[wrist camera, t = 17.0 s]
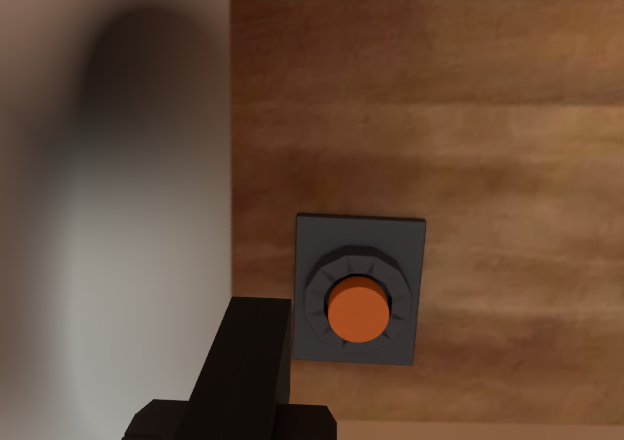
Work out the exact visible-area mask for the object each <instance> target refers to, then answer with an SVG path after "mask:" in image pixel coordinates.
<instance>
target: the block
mask: <svg viewBox="0 0 624 440" xmlns="http://www.w3.org/2000/svg"><path fill="white" fill-rule="evenodd" d="M425 233H426V221H425V219H412V218H390V217H368V216H346V215H324V214H302V213H298V214H297V224H296V259H295V293H294V327H293V359H296V360H314V361H333V362H352V363H371V364H390V365H409V366H412V365H413V356H414V346H415V335H416V325H417V315H418V304H419V294H420V284H421V274H422V263H423V253H424V243H425ZM354 276H362V277H367V278H370V279H372V280H374V281H375V282H377V283H378V284H379V285H380V286H381V287H382V289H383V290H384V292H385V295H386V298H387V303H388V308H389V321H388V324H387V326H386V328H385V329H384V331H383V332H382V333H381V334H380V335H379V336H377V337H376V338H374V339H372V340H370V341H367V342H351V341H347V340H345V339H343V338H341V337H340V336H338V335H337V334H336V333H335V332H334V330H333V329H332V327H331V325H330V323H329V319H328V301H329V296H330V293H331V291H332V289H333V288H334V287H335V286H336V285H337V284H338V283H339V282H340V281H342V280H344V279H346V278H349V277H354Z"/></svg>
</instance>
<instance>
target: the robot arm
mask: <svg viewBox="0 0 624 440" xmlns="http://www.w3.org/2000/svg"><path fill="white" fill-rule="evenodd" d="M290 361H291V299H279V298H255V297H232V298H231V300H230V303H229V305H228V308H227V310H226V312H225V315H224V317H223V320H222V322H221V324H220V327H219V329H218V332H217V334H216V336H215V339H214V341H213V344H212V346H211V348H210V351H209V353H208V356H207V358H206V361H205V363H204V365H203V368H202V370H201V373H200V375H199V377H198V380H197V382H196V384H195V387H194V389H193V392H192V394H191V396H190V399H189V401H180V400H179V401H177V400H159V399H153V400H152V401H151V402H150V403H148V404H147V405H146V406H145V407H144V408H142V409H141V410H140V411H139V412H138V413H136V414H135V416H134V417H133V419H132V421H131V423H130V425H129V426H128V428H127V430H126V432H125V436H124V437H122V439H121V440H337V422H336V421H335V419H334V417H333V416H332V414H331V412H330V411H329V409H328V407H327V406H320V405H300V404H289V396H290Z"/></svg>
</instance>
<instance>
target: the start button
mask: <svg viewBox="0 0 624 440" xmlns="http://www.w3.org/2000/svg"><path fill="white" fill-rule="evenodd" d="M328 319H329V323H330V325H331V327H332V329H333V330H334V332H335V333H336V334H337V335H338V336H340V337H341V338H343V339H345V340H347V341H351V342H367V341H370V340H372V339H374V338H376V337H377V336H379V335H380V334H381V333H382V332H383V331H384V329H385V328H386V326H387V324H388V321H389V308H388V303H387V298H386V295H385V292H384V290H383V289H382V287H381V286H380V285H379V284H378V283H377V282H375V281H374V280H372V279H370V278H367V277H362V276H354V277H349V278H346V279H344V280H342V281H340V282H339V283H338V284H337V285H336V286H335V287H334V288H333V289H332V291H331V293H330V296H329V301H328Z"/></svg>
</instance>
